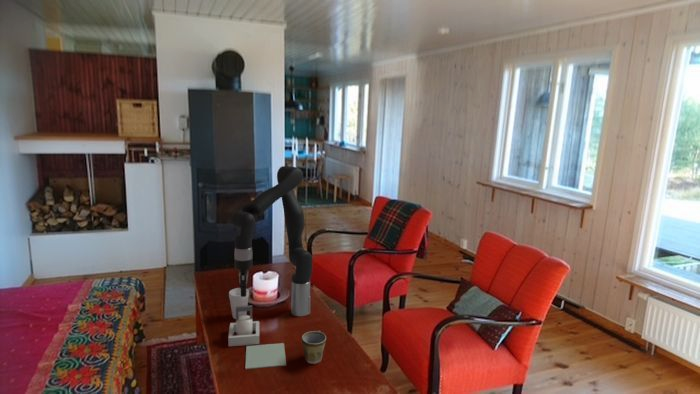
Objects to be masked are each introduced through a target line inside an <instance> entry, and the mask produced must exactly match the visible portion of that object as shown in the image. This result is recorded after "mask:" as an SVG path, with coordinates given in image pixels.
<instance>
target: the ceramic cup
mask: <svg viewBox="0 0 700 394" xmlns="http://www.w3.org/2000/svg"><path fill="white" fill-rule="evenodd" d="M325 334H326V333H324V332H323V331H322V332H321V330H319V329H318V330H313V331H311V330H310V331H307V332H305V333H303V334H302V336H301V344H302V348H303V354H304V359H305V361H306V362H307V363H308V364H312V365H315V364H318V363H320V362H321V361H322V359H323V355H324V349H325V346H326V343H327V336H326V335H325Z"/></svg>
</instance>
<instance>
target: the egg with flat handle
mask: <svg viewBox="0 0 700 394" xmlns="http://www.w3.org/2000/svg"><path fill="white" fill-rule="evenodd" d="M242 311H247V312H249V315H248V314H246V315H243V316H239V317H238V312H242ZM252 322H253V305H252V304H251V305H247V306H236V319H235V323H236V332H235V333H236V335H235V336H238V335H252V334H254V333H253V332H254V331H253V330H252Z"/></svg>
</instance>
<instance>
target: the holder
mask: <svg viewBox="0 0 700 394" xmlns="http://www.w3.org/2000/svg"><path fill="white" fill-rule="evenodd" d="M229 323H230V324H229V328H228V329H229V330H228V338H227V339H228V344H227V345H228V347H237V346H239V347H240V346H241V347H242V346H254V345H260V321H259V320H256V321H255V320H254V321H253V320H252V330H253V332H255V333H253V334H252V335H238V336H236V335H235V334H234V333H236V322H229Z"/></svg>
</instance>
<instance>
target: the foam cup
mask: <svg viewBox="0 0 700 394" xmlns="http://www.w3.org/2000/svg"><path fill="white" fill-rule="evenodd" d="M228 297H229V301H230V302H229V303H230V308H231V315H232V318H233V319H234V320H236V306H249V304H248V303H249V298H250V290H249V289H248V288H246V296H245V297H241V289H240V287H236V288H232V289H230V290H229V292H228ZM247 312H248V311H242V312H238V317H239V316H243V315H247Z"/></svg>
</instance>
